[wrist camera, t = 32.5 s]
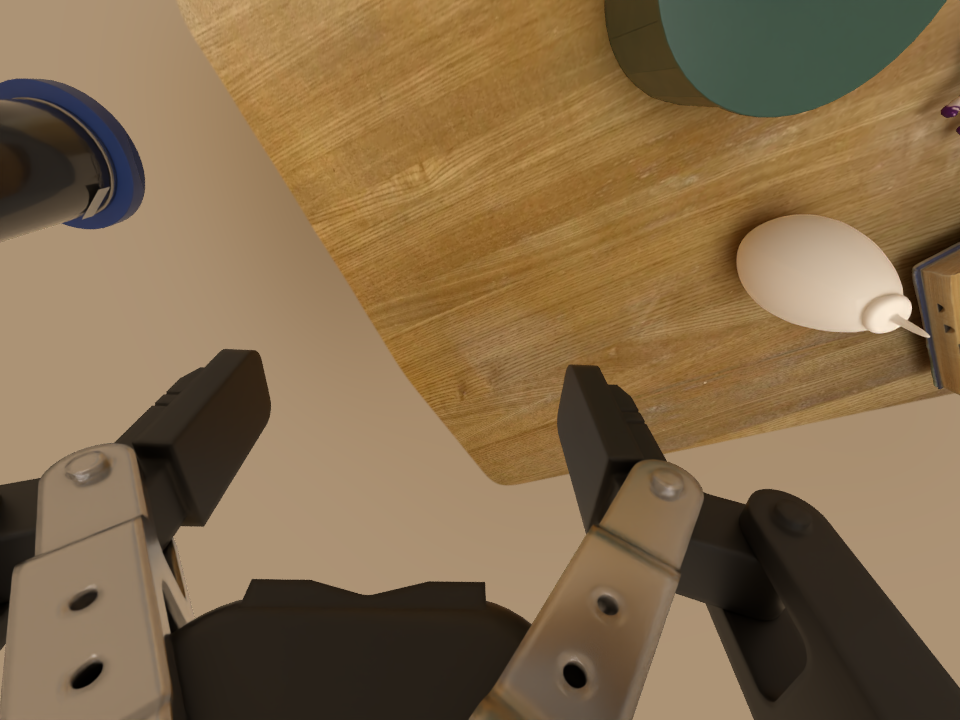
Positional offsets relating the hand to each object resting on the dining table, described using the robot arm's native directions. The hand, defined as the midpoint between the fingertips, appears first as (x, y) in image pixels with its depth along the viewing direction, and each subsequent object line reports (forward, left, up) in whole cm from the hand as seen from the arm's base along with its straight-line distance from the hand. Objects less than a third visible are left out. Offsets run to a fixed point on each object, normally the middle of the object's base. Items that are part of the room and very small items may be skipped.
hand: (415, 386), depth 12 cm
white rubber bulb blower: (+28, -4, -31) cm, 42 cm away
